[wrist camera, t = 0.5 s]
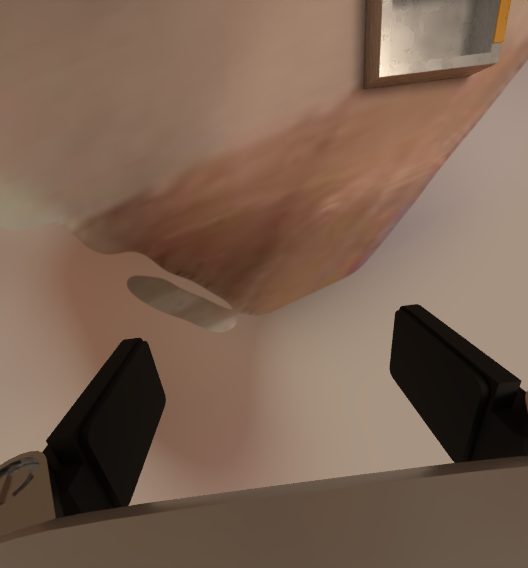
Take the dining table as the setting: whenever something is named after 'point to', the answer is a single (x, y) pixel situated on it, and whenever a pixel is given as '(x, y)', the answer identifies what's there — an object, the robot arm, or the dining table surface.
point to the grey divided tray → (431, 39)
